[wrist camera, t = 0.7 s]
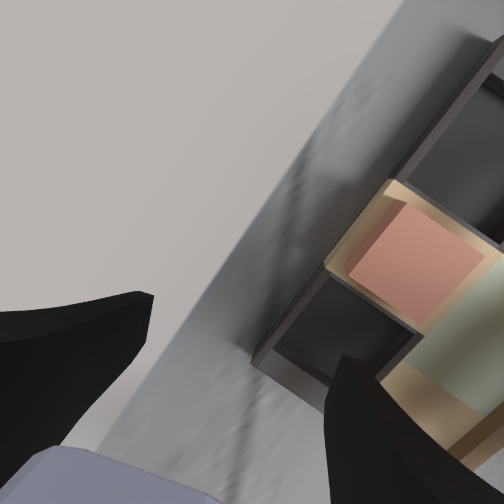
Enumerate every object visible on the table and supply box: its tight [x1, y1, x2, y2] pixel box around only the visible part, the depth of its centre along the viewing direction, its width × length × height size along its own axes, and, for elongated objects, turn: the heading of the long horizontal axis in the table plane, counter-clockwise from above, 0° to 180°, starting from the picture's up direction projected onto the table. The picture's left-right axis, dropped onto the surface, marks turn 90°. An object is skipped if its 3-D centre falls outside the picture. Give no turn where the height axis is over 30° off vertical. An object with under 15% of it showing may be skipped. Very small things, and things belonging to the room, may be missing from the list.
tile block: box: [344, 199, 485, 325], centre depth 17 cm, size 4×4×2 cm
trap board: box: [250, 35, 504, 472], centre depth 18 cm, size 14×22×3 cm, turn 147°
